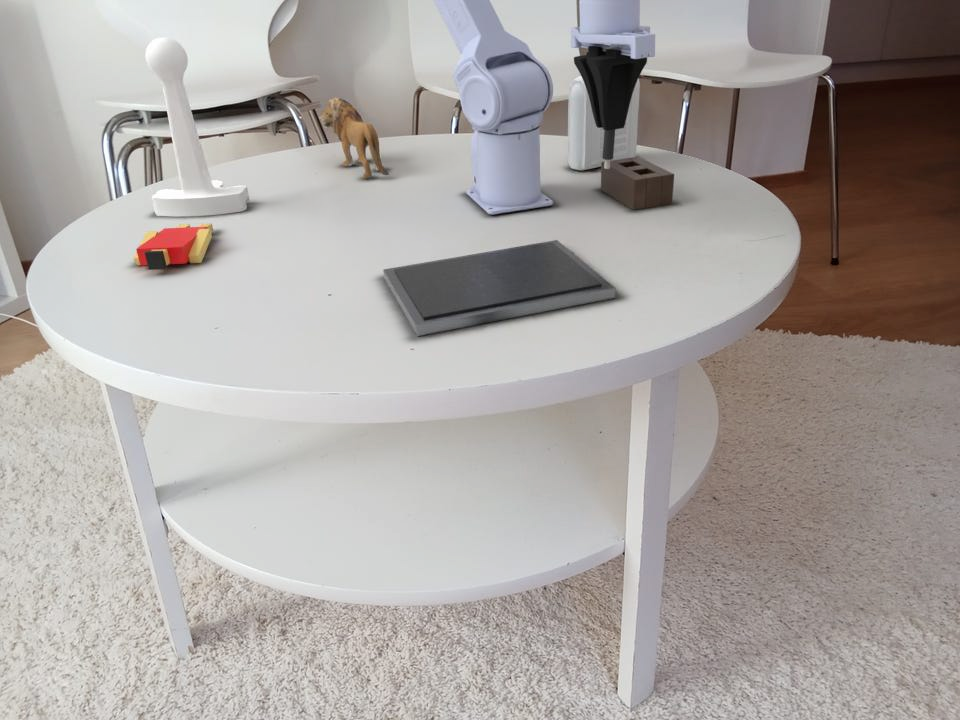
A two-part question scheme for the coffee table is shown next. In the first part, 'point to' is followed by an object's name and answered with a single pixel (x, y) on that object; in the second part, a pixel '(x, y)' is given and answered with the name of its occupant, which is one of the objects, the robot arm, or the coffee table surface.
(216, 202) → the joystick
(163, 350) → the coffee table surface
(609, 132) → the stylus
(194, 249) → the toy figure
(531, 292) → the tablet
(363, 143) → the lion figurine
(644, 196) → the holder
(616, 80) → the robot arm
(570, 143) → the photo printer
